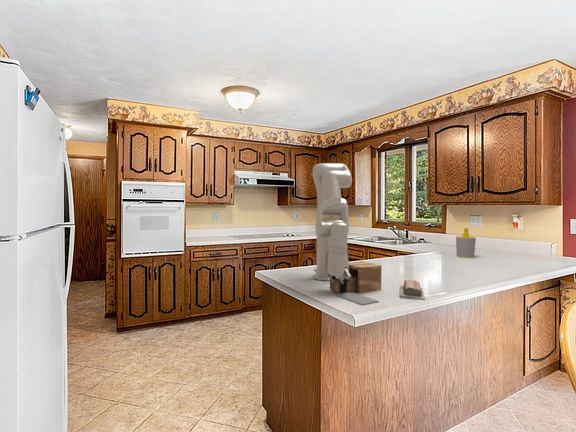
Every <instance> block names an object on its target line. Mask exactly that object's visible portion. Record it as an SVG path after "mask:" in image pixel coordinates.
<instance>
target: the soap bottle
mask: <svg viewBox="0 0 576 432" xmlns="http://www.w3.org/2000/svg"><path fill="white" fill-rule="evenodd" d="M463 230H464V231H463V233H462V235H459V236H458V235H457V236H455V245H456V246H455V248H456V249H455V250H456V257H457V258H463V259H473V258H475V252H476V251H475V249H476V239H477V237H475V236H470V233H469V227H464V228H463Z"/></svg>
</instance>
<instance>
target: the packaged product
mask: <svg viewBox="0 0 576 432" xmlns="http://www.w3.org/2000/svg"><path fill="white" fill-rule="evenodd" d="M399 298H400V299H410V300H421V301H425V300H426V298H425V293H424V290H423V287H421V284H420V282H419V281H417V280H414V279H413V280H411V279H409V280H408V279H406V280H405V279H404V281H403V285H400V286H399Z"/></svg>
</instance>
